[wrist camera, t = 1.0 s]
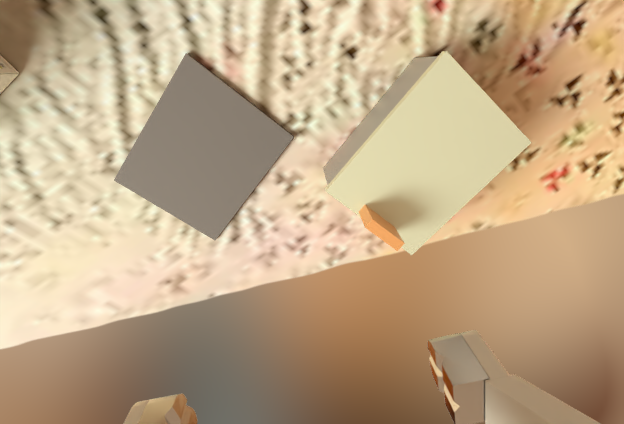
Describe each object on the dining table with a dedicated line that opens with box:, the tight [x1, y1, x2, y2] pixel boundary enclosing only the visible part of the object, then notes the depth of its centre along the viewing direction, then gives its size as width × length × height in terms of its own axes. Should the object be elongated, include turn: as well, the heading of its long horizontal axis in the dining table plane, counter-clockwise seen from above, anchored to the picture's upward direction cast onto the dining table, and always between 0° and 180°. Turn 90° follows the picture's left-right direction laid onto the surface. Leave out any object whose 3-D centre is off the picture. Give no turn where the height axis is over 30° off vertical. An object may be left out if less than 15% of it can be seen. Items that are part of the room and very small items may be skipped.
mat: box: [114, 54, 294, 240], centre depth 43 cm, size 20×16×1 cm
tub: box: [323, 56, 438, 184], centre depth 40 cm, size 18×14×8 cm
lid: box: [325, 51, 532, 255], centre depth 35 cm, size 19×15×6 cm
